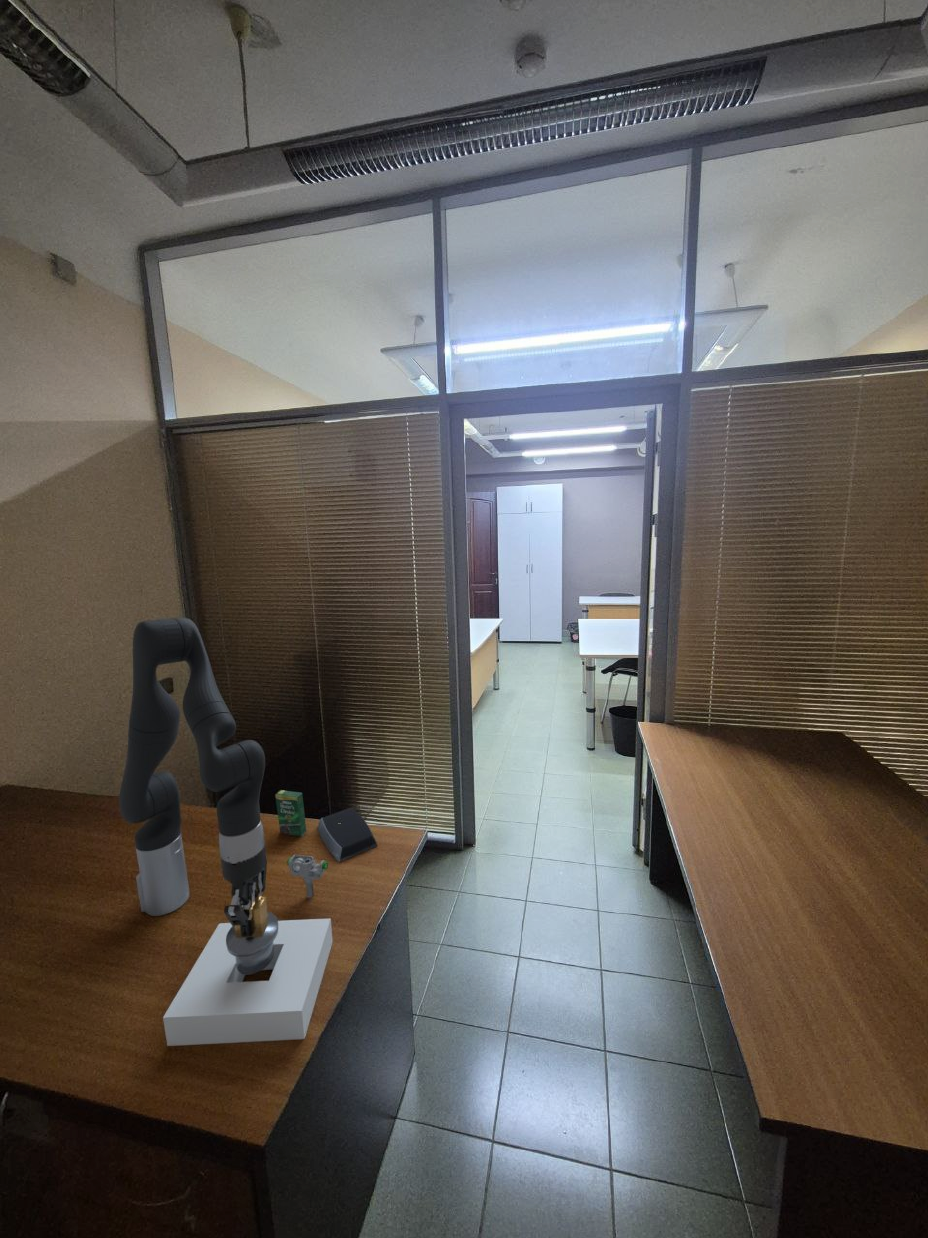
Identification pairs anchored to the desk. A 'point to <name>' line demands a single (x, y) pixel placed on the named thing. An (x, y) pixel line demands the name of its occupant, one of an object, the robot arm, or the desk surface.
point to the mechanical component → (307, 870)
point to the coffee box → (291, 813)
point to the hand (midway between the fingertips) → (251, 927)
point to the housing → (251, 990)
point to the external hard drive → (346, 834)
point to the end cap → (254, 940)
